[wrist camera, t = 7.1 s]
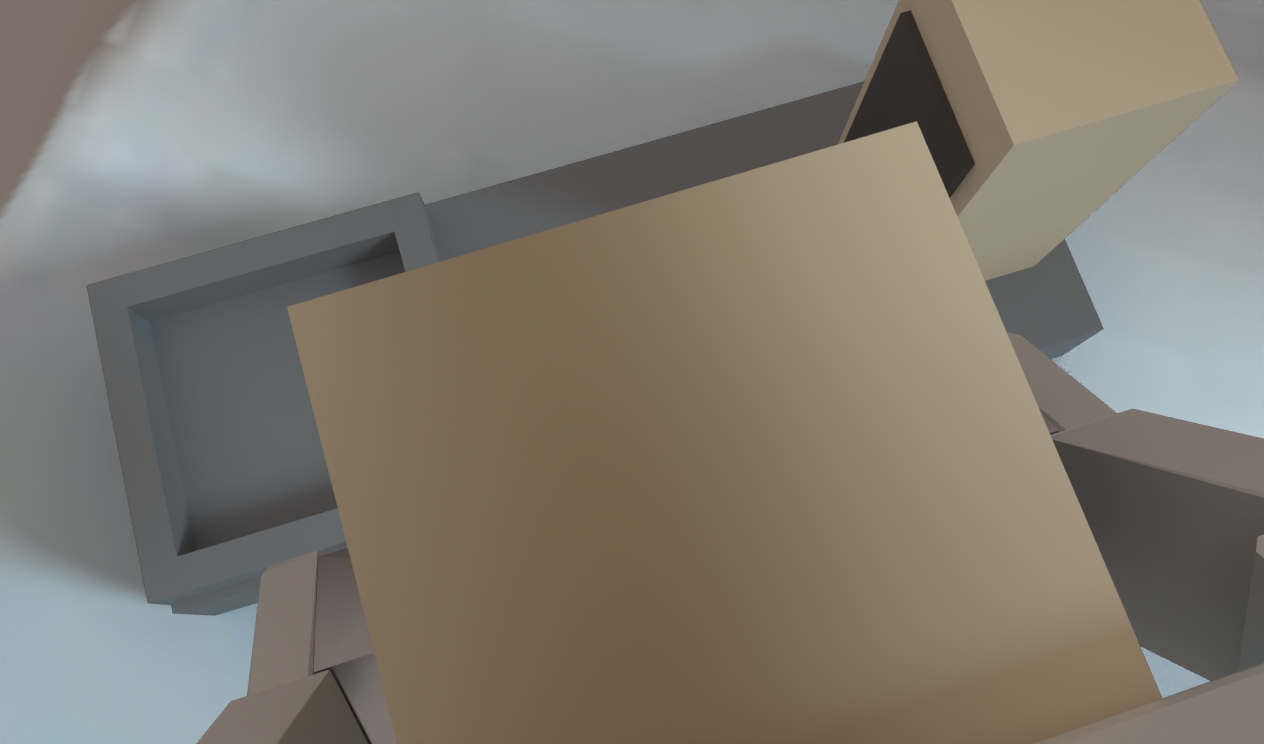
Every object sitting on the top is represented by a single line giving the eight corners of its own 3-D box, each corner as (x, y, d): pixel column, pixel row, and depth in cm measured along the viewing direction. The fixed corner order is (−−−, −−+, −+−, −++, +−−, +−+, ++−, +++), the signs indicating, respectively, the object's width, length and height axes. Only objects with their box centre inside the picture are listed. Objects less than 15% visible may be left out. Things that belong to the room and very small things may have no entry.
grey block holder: (953, 95, 30) (1146, -225, 19) (1062, 355, 28) (1349, 170, 17) (153, 323, 28) (-156, 119, 17) (214, 615, 26) (-89, 600, 15)
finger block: (761, 414, 15) (946, 112, 7) (859, 686, 14) (1228, 760, 6) (482, 502, 15) (285, 307, 6) (564, 787, 14) (470, 1032, 5)
